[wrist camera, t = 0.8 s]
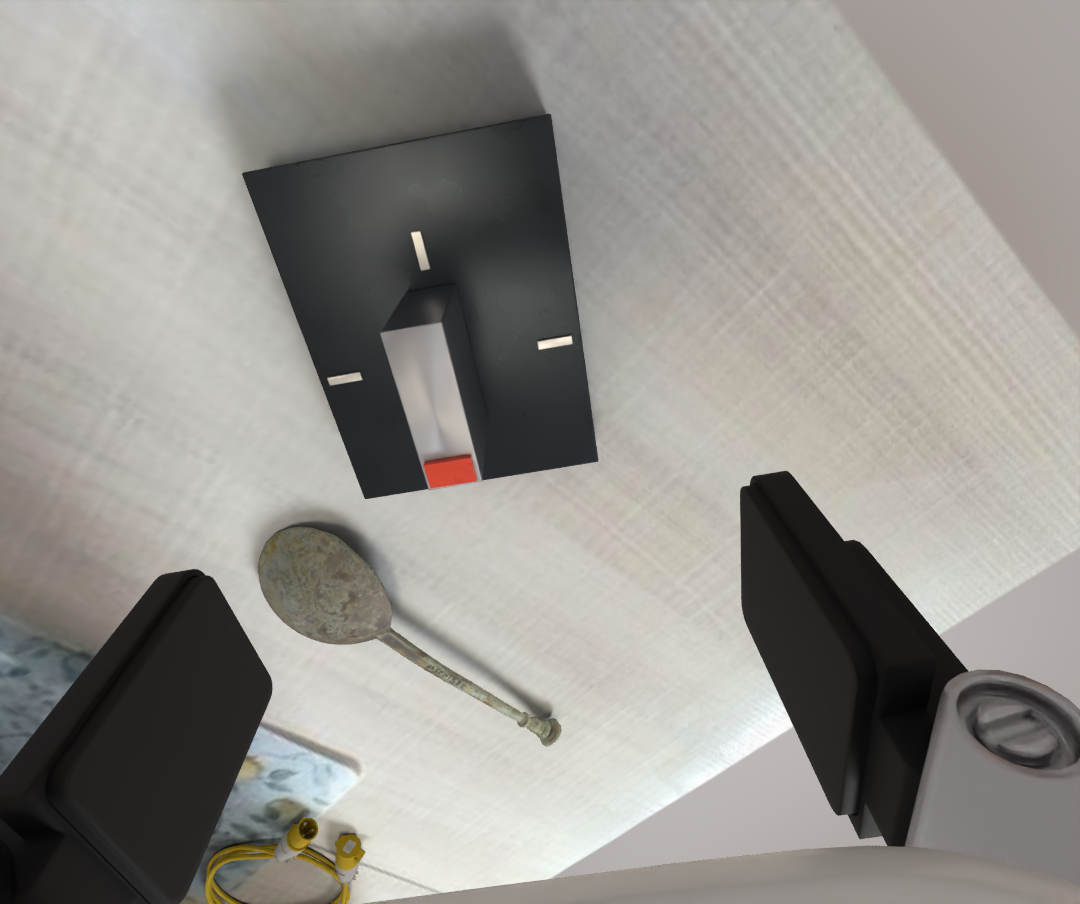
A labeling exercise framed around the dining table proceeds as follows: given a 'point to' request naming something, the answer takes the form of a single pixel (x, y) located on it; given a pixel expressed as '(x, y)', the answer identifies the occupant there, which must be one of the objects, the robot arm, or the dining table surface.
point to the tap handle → (438, 385)
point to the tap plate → (431, 261)
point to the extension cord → (290, 848)
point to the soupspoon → (353, 607)
